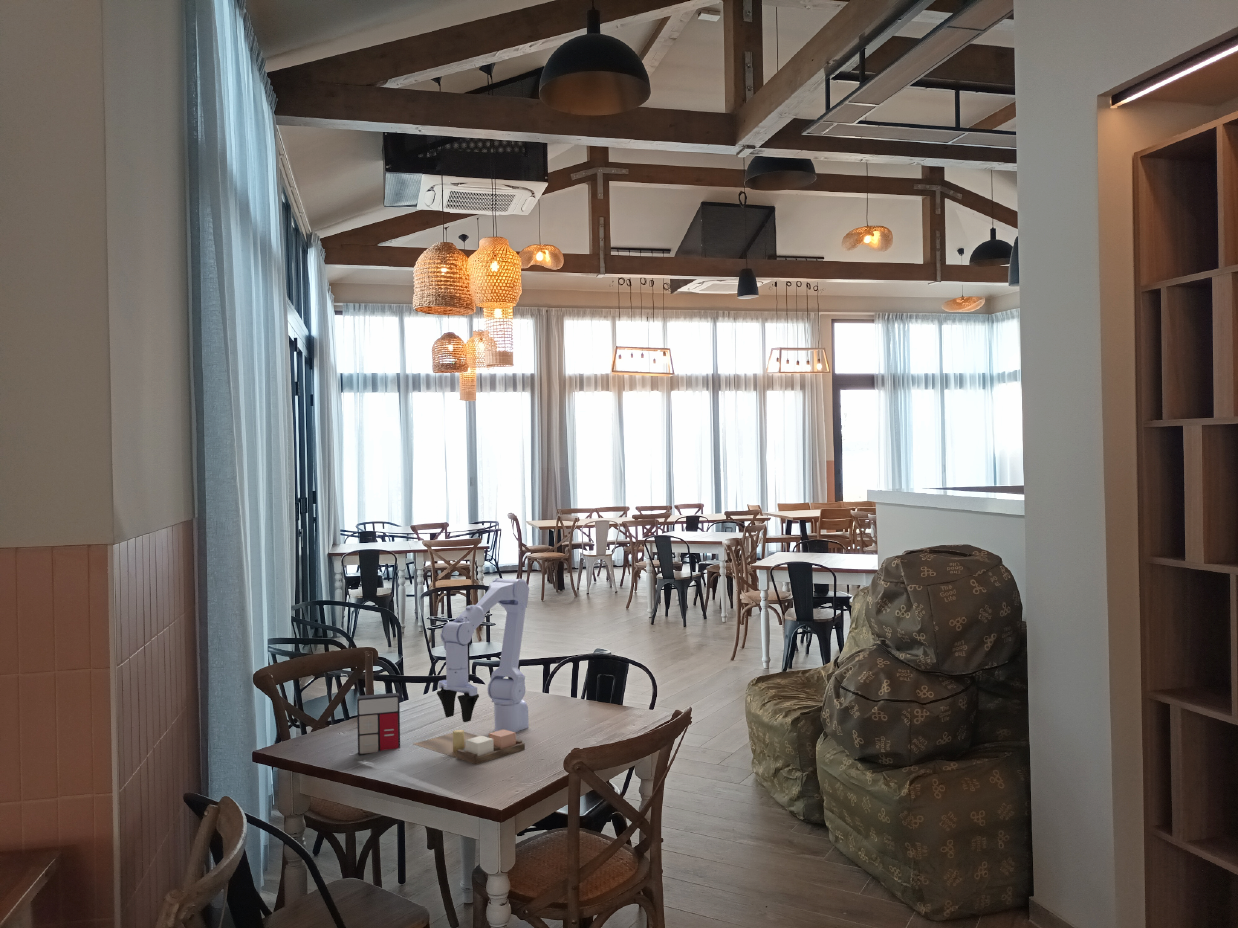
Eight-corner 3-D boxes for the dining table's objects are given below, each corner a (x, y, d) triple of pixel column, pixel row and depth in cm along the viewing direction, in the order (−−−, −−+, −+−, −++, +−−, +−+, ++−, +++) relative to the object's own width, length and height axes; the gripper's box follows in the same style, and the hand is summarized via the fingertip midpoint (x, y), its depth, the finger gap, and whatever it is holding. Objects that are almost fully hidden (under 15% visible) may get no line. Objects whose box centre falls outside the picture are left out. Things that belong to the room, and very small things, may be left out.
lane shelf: (460, 734, 251) (460, 723, 251) (524, 752, 231) (524, 741, 232) (413, 747, 239) (412, 736, 239) (476, 768, 220) (476, 756, 220)
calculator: (357, 756, 232) (356, 699, 233) (358, 751, 236) (357, 695, 237) (400, 751, 235) (399, 695, 235) (400, 747, 239) (399, 692, 240)
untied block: (503, 745, 235) (503, 729, 235) (515, 749, 231) (515, 732, 231) (489, 750, 231) (488, 733, 231) (501, 754, 228) (500, 736, 228)
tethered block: (463, 746, 235) (462, 728, 235) (493, 756, 226) (493, 736, 226) (447, 751, 231) (447, 732, 231) (478, 761, 222) (477, 741, 222)
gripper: (428, 666, 234) (429, 717, 234) (461, 673, 224) (462, 726, 224) (450, 662, 239) (451, 712, 239) (483, 668, 230) (484, 720, 229)
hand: (458, 718), depth 232 cm, fingers open, 7 cm apart
